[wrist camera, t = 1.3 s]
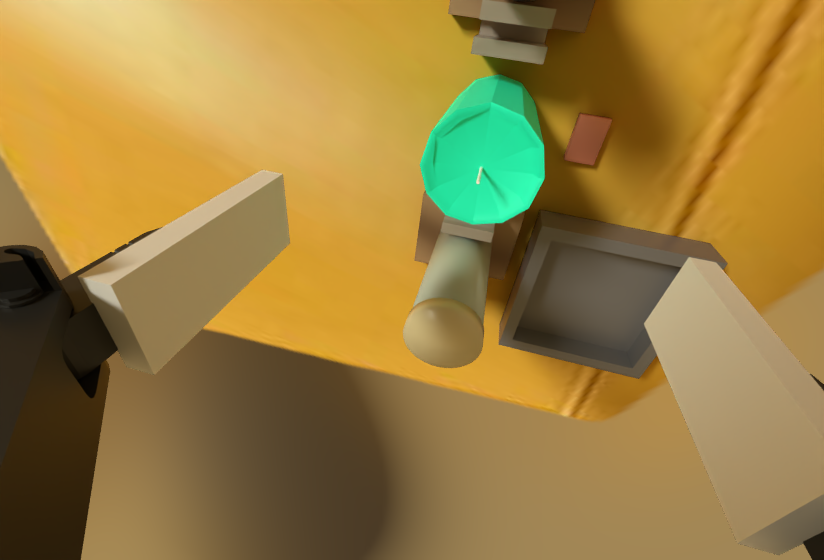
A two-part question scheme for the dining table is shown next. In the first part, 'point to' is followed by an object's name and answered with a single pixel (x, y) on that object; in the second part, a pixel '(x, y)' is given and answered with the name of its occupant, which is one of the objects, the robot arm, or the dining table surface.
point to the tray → (593, 291)
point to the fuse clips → (523, 41)
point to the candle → (486, 153)
